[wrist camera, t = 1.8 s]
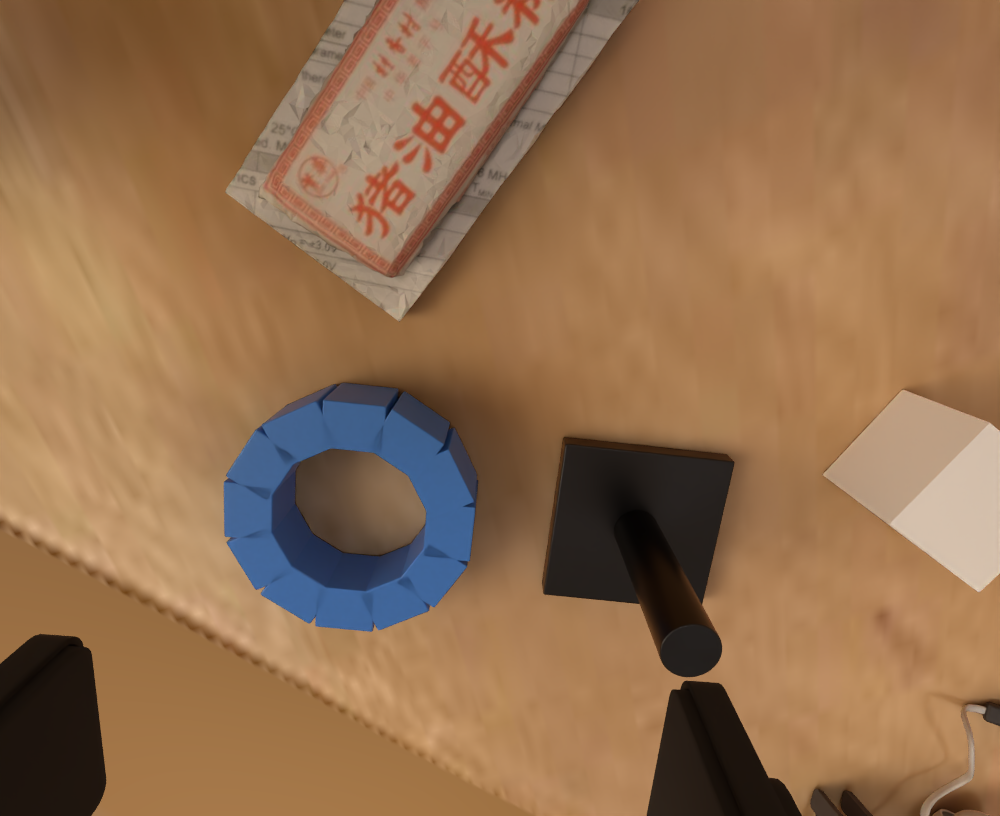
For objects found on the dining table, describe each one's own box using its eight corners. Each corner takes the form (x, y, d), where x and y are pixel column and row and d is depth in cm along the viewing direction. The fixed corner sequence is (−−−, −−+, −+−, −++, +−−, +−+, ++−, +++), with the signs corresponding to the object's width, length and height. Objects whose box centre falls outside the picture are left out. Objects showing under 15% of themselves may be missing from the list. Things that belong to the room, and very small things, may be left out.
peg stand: (541, 583, 35) (559, 735, 24) (563, 436, 33) (593, 534, 22) (694, 598, 36) (779, 756, 25) (727, 454, 33) (836, 559, 22)
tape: (252, 580, 35) (225, 618, 32) (252, 372, 32) (221, 389, 28) (465, 601, 36) (461, 640, 32) (487, 397, 32) (485, 417, 29)
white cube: (901, 389, 32) (990, 422, 26) (979, 452, 33) (1081, 497, 27) (821, 475, 33) (889, 524, 28) (898, 533, 34) (979, 593, 29)
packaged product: (450, -249, 21) (664, -42, 23) (459, -161, 26) (636, 5, 27) (186, 187, 25) (385, 336, 27) (235, 195, 30) (403, 321, 31)
